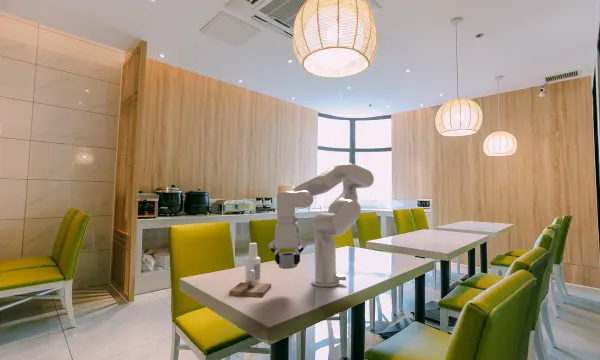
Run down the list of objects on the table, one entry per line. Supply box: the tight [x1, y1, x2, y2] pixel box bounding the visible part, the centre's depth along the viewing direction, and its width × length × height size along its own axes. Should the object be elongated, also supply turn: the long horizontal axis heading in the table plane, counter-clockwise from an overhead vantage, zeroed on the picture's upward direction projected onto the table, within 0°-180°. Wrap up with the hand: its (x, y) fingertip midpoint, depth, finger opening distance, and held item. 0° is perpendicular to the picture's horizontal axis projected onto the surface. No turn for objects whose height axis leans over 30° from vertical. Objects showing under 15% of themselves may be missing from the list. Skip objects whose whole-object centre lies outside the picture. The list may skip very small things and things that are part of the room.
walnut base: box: [228, 281, 272, 297], centre depth 117 cm, size 14×12×2 cm
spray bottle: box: [244, 242, 261, 283], centre depth 129 cm, size 7×7×18 cm
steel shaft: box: [248, 269, 255, 288], centre depth 117 cm, size 3×3×7 cm
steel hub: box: [278, 251, 298, 270], centre depth 116 cm, size 7×7×5 cm
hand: (287, 263), depth 116 cm, fingers closed on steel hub, 7 cm apart
